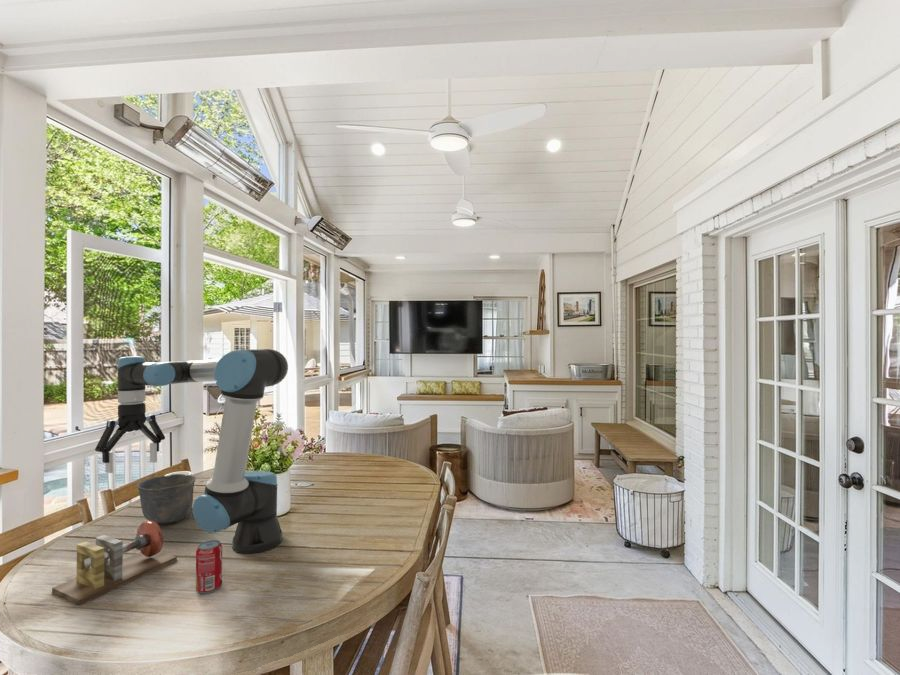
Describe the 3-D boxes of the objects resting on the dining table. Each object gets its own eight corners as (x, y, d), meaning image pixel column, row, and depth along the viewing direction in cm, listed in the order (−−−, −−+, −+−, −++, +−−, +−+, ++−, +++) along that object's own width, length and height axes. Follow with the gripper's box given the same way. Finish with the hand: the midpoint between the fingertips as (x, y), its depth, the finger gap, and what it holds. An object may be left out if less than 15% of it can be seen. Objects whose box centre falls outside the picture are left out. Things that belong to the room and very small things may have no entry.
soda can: (194, 597, 116) (194, 550, 116) (197, 585, 122) (197, 540, 122) (221, 591, 118) (221, 546, 118) (222, 580, 124) (223, 536, 124)
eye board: (176, 560, 135) (176, 523, 135) (79, 604, 112) (79, 560, 112) (149, 551, 141) (150, 516, 141) (52, 592, 118) (52, 549, 118)
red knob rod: (163, 557, 133) (163, 523, 133) (96, 586, 117) (96, 548, 117) (142, 550, 137) (142, 518, 137) (75, 577, 121) (75, 541, 121)
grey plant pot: (151, 536, 152) (151, 492, 152) (127, 524, 161) (127, 483, 161) (203, 518, 167) (204, 478, 167) (179, 509, 176) (179, 471, 176)
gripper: (163, 398, 161) (163, 457, 161) (81, 407, 139) (81, 475, 139) (176, 399, 158) (176, 459, 158) (94, 408, 136) (95, 478, 135)
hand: (132, 467), depth 148 cm, fingers open, 13 cm apart
